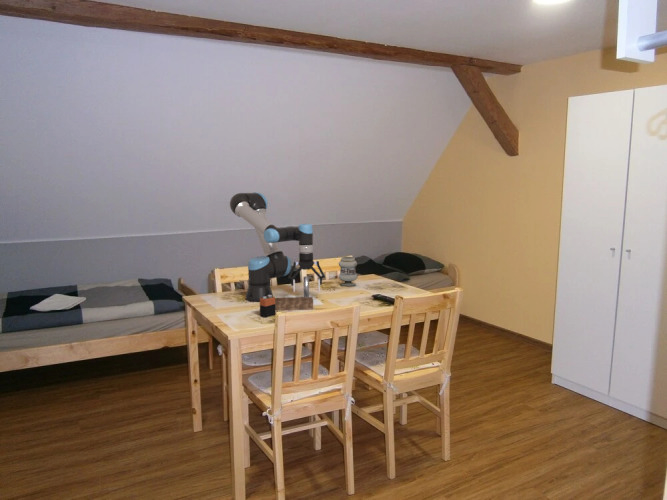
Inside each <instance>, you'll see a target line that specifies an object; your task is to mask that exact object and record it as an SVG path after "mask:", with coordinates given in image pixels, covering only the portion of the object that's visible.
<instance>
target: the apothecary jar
mask: <svg viewBox="0 0 667 500" xmlns="http://www.w3.org/2000/svg"><path fill="white" fill-rule="evenodd" d="M355 259H356V258H355V256H341V259H340V260H339V262H338V266H339V268H340V273H339V274H338V279H339V281H342V283H340V284H339V285H340V287H344V288H353V287H355V286H357V285H356V283H354V281H356V280H357V279H358V274H357V272H356V271H357V270H356V267H357V266H358V262H357V260H355Z"/></svg>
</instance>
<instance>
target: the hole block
mask: <svg viewBox="0 0 667 500" xmlns="http://www.w3.org/2000/svg"><path fill="white" fill-rule="evenodd" d="M306 310H307V311H308V310H309V311H310V310H314V298H313V296H309V297H304V296H299V297H297V296H295V297H292V296H291V297H289V296H288V297H275V311H306Z"/></svg>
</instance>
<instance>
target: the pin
mask: <svg viewBox="0 0 667 500" xmlns="http://www.w3.org/2000/svg"><path fill="white" fill-rule="evenodd" d="M303 297H310V276H303Z"/></svg>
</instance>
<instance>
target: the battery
mask: <svg viewBox="0 0 667 500" xmlns="http://www.w3.org/2000/svg"><path fill="white" fill-rule="evenodd" d="M275 298H276V297H275V296H273V297H272V295H268V296H267V297H266V296H264V297H263V298H260V302H259V315H260V316H259V317H262V318H264V319H265V318H268V317H269V318H270V317H272V316H276V310H275Z"/></svg>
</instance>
